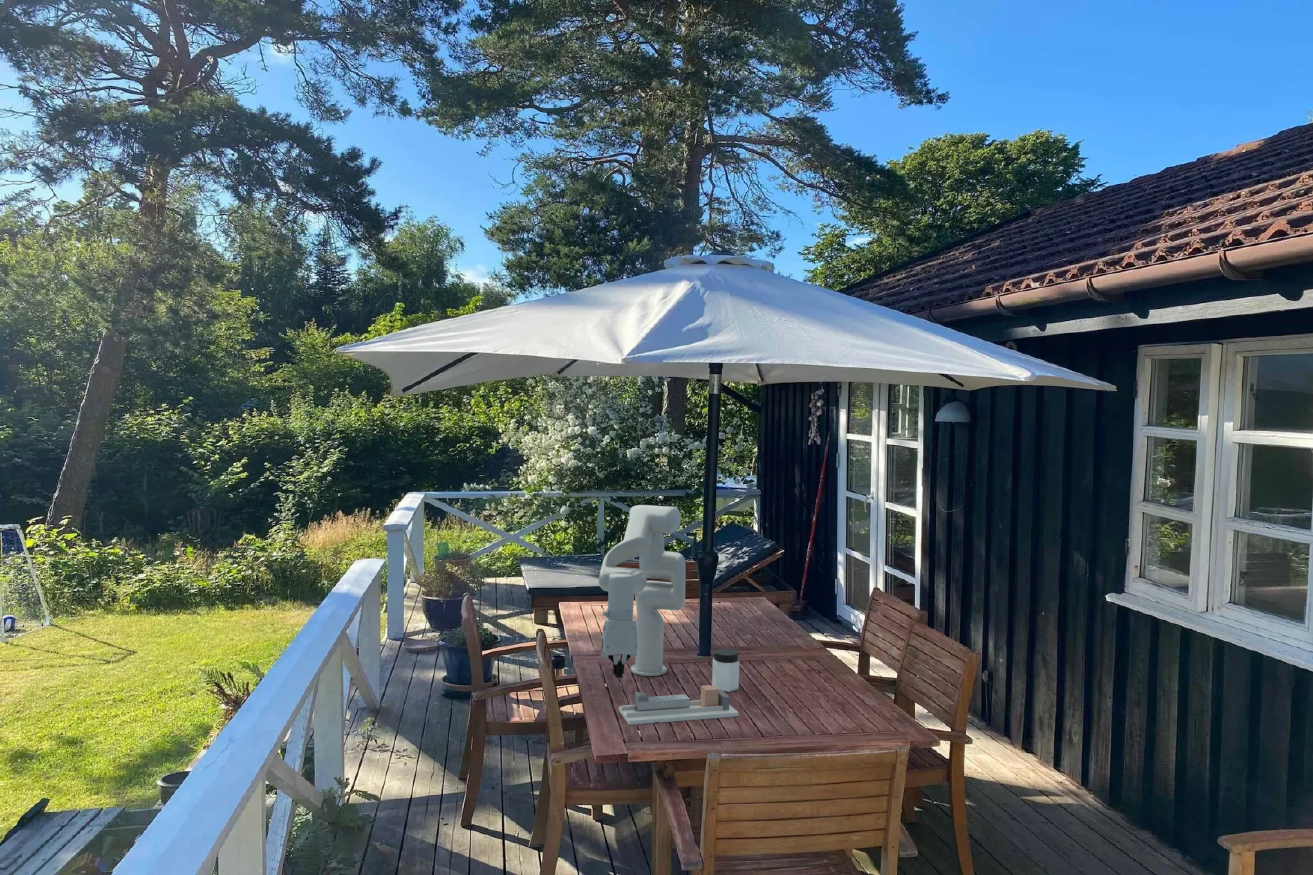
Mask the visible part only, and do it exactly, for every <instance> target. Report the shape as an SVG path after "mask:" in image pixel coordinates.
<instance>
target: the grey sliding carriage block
mask: <svg viewBox="0 0 1313 875" xmlns="http://www.w3.org/2000/svg"><path fill="white" fill-rule="evenodd" d="M690 701H691V698H690V697H689V696H688V695H687V694H686V693H683V694H670V695H657V696H656V695H654V696H649V695H648V694H647V693H646V692H645V691H637V692H634V705H635V711H636V712H641V711H655V710H668V709H682V708H689V707H690Z"/></svg>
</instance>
